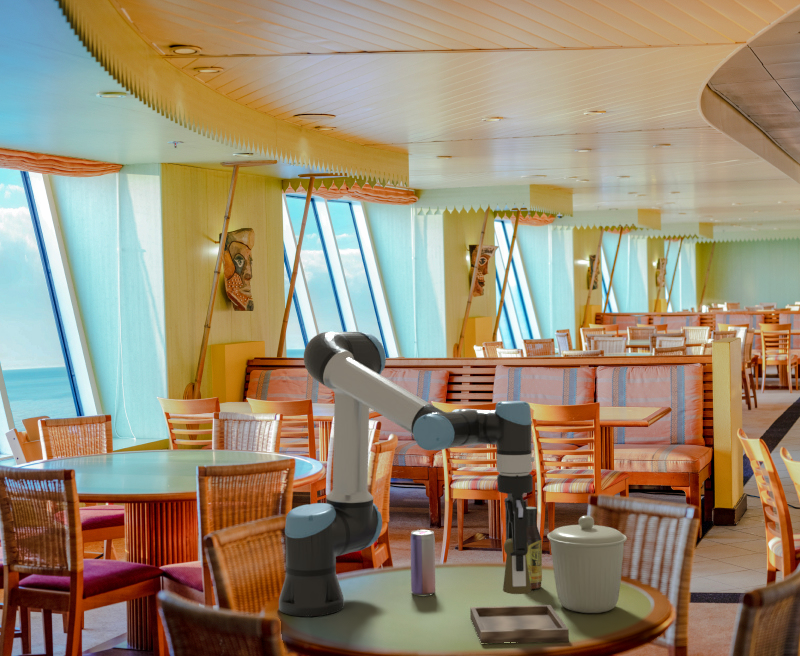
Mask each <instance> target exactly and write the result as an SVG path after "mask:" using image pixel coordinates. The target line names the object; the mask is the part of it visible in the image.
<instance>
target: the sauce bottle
mask: <svg viewBox="0 0 800 656" xmlns="http://www.w3.org/2000/svg"><path fill="white" fill-rule="evenodd" d="M526 508H527V515H526V527H527V543H528V552H527V554H526V559H527V565H528V572H529V579H530V585H531V590H537V589H540V588H541V587H542V581H543V567H542V566H543V560H542V559H543V555H542V554H543V551H542V549H543V545H542V544H543V543H542V542H543V541H542V539H543V538H542V537H541V534H540V531H539V528H538V524H537V514H538V508H537V507H535V506H526Z"/></svg>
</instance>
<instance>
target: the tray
mask: <svg viewBox="0 0 800 656" xmlns="http://www.w3.org/2000/svg"><path fill="white" fill-rule="evenodd" d="M469 612H470V620H472V621H471V623H472V622H473V623H472V625H474V626H473V628H474V627H475V628H474V630H475V632H477V633H476V635H477V634H478V635H477V637H479V638H478V639H480V640H479V642H480V641H481V643H504V642H510V643H511V642H516V643H515V644H530V643H529V642H546V643H569V641H570V640H569V639H570V638H569V637H570V635H569V634H570V633H569V632H570V631H569V628H568V627H567V625H566V624H565V623H564V621H563V620H562V618H561V617H560V616H559V615H558V613H557V612H556V611H555V609H554V608H553V606H552V605H551V604H541V605H540V604H535V605H534V604H533V605H505V606H504V605H503V606H501V605H500V606H499V605H498V606H493V605H492V606H470V611H469ZM517 642H518V643H517ZM481 643H480V644H481Z"/></svg>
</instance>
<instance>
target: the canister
mask: <svg viewBox="0 0 800 656" xmlns="http://www.w3.org/2000/svg"><path fill="white" fill-rule="evenodd" d="M546 535H547V536H546V537H547V539H548V540H549V542H550V543H549V544H550V551H551V558H552V559H551V560H552V567H553V575H554V582H555V589H556V594H557V599H558V601H559V603H560V604H561V606H562V607H564V608H565V609H567V610H569V611H572V612H576V613H583V614H598V613H599V614H601V613H605V612H608V611H611V610H612V609H613V610H614V608H615V607H616V605H617V603H618V601H619V597H620V591H621V590H620V589H621V580H622V572H623V571H622V570H623V561H624V559H623V558H624V548H625V547H624V546H625V542H626V541H627V539H628V538H627V536H626V535H625V534H623V533H622V532H621V531H619V530H618V529H616V528H614V527H609V526H604V525H597V524H595V520H594V518H593V517H592V516H590V515H582V516H580V517H579V518H578V524H571V525H563V526H559V527H556V528H554V530H552V531H550V532H548V533H547V534H546Z"/></svg>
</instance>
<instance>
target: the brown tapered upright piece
mask: <svg viewBox="0 0 800 656" xmlns="http://www.w3.org/2000/svg"><path fill="white" fill-rule="evenodd" d="M503 549H504V553H505V554H506V556H505V557H506V558H505V559H506V560H505V567H504V577H503V586H502V591H503V592H504V593H506V594H510V595H526V594H529V593H531V592H532V589H531V585H530V579H529V572H528V565H527V559H526V554H525V566H526V586H515V587H513V581H512V556H510V553H513V541H512V538H511V539H507V540H506V539H505V542H504V545H503ZM519 549H520V548H519ZM527 552H528V543H527Z"/></svg>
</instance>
